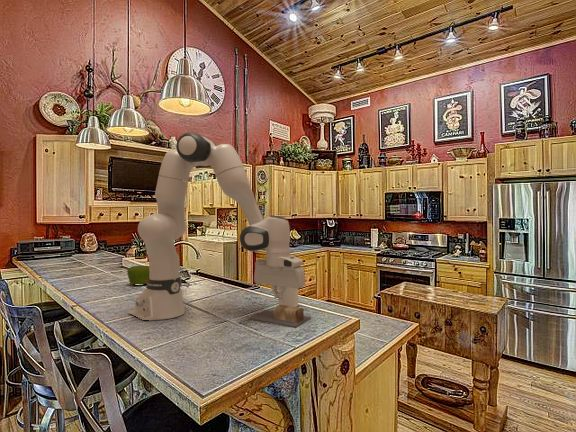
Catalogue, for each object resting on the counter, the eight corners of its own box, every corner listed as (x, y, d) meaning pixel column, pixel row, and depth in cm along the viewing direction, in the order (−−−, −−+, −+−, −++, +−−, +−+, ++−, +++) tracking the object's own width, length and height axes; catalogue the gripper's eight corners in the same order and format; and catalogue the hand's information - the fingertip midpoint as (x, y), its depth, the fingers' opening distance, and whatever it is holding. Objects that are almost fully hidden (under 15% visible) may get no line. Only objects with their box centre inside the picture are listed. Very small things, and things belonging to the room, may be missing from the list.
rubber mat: (248, 319, 123) (248, 317, 123) (265, 311, 133) (265, 309, 133) (295, 328, 113) (295, 326, 113) (310, 318, 122) (310, 317, 122)
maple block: (273, 307, 122) (297, 311, 117) (279, 304, 125) (303, 308, 120) (273, 318, 122) (298, 322, 117) (279, 315, 125) (303, 319, 120)
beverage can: (302, 306, 139) (301, 277, 139) (289, 310, 133) (288, 280, 133) (288, 303, 145) (287, 275, 145) (274, 307, 139) (274, 277, 139)
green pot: (123, 287, 183) (122, 266, 183) (136, 282, 195) (136, 262, 195) (144, 287, 181) (143, 266, 181) (156, 282, 193) (156, 263, 193)
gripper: (250, 259, 125) (250, 296, 125) (298, 262, 115) (298, 303, 115) (260, 257, 131) (260, 293, 131) (306, 260, 120) (307, 299, 120)
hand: (279, 298), depth 123 cm, fingers closed
